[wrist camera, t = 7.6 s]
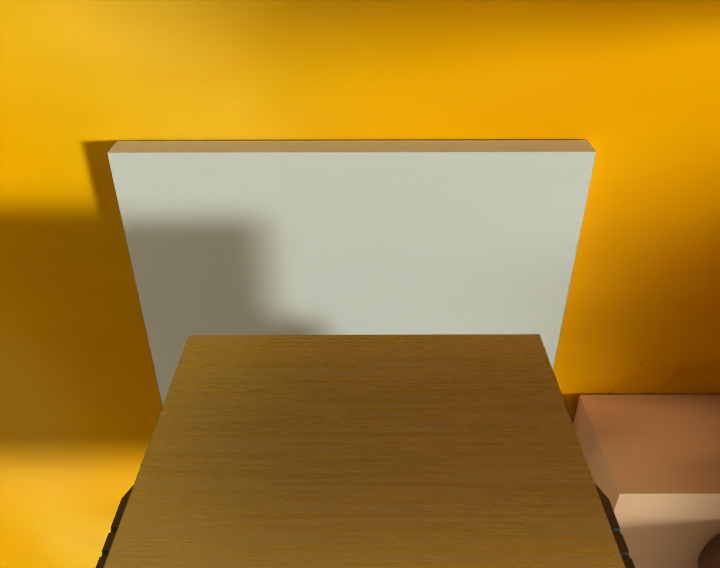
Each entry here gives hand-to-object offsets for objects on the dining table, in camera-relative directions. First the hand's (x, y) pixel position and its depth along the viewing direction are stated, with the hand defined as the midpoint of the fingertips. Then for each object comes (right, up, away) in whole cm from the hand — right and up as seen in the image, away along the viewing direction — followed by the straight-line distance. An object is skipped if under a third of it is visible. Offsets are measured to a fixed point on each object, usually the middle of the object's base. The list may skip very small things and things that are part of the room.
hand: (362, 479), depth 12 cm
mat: (0, +2, +4) cm, 4 cm away
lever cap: (0, 0, 0) cm, 0 cm away
